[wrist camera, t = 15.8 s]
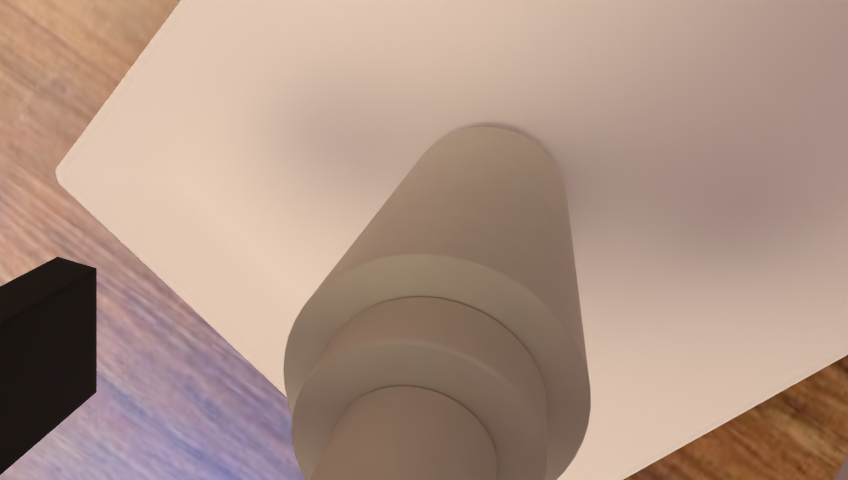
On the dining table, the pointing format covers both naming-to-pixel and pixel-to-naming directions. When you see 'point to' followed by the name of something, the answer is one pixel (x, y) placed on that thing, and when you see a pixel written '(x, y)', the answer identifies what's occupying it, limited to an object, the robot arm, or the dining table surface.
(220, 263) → the beige square board
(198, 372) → the dining table surface
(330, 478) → the bottle
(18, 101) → the dining table surface
